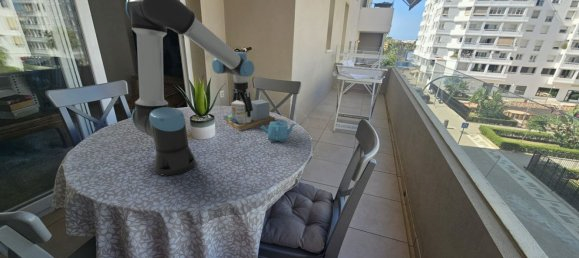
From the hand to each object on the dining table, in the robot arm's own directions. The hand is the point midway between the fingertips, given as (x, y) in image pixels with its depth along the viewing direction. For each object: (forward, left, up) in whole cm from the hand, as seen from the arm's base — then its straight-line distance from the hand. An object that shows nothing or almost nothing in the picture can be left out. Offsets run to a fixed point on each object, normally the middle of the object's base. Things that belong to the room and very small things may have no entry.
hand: (242, 119), depth 140 cm
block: (0, -12, -3) cm, 12 cm away
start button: (+11, +1, -3) cm, 12 cm away
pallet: (0, -6, -4) cm, 7 cm away
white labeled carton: (0, +1, -1) cm, 1 cm away
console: (+11, +1, -4) cm, 12 cm away
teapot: (-27, -5, -5) cm, 28 cm away
